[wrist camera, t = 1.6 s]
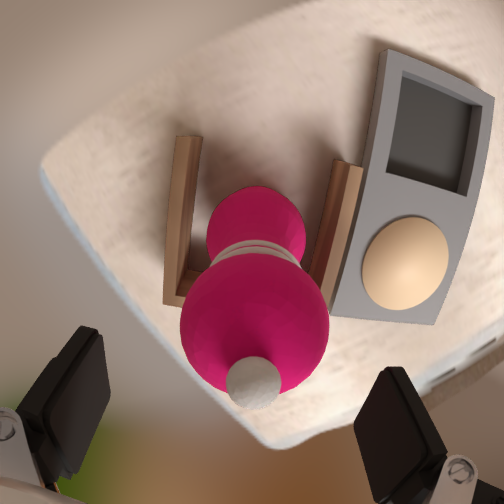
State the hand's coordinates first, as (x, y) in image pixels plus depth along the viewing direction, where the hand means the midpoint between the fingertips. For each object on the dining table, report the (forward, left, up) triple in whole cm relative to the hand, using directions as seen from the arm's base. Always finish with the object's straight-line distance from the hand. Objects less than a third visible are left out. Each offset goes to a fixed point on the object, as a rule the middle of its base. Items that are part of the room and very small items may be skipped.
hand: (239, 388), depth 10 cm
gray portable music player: (-14, -5, -19) cm, 25 cm away
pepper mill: (0, 0, -19) cm, 19 cm away
